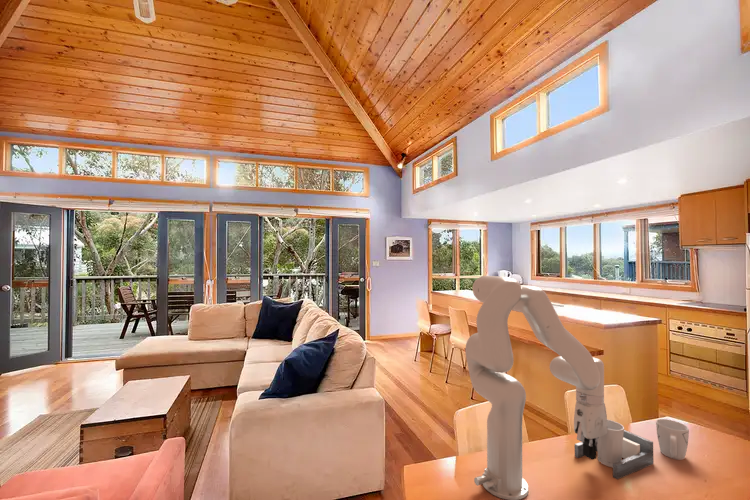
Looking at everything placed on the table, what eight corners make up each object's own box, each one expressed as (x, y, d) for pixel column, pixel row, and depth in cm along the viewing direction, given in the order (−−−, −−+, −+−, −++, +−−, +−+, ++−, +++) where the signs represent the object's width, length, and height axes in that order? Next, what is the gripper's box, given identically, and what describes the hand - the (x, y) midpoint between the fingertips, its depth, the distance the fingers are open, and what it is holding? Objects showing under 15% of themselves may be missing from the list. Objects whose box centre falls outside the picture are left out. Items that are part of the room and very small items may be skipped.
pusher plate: (637, 464, 111) (636, 445, 111) (605, 449, 120) (604, 431, 120) (640, 463, 111) (639, 444, 112) (607, 448, 121) (607, 430, 121)
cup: (617, 456, 116) (617, 420, 116) (629, 470, 108) (629, 431, 108) (590, 453, 117) (590, 417, 118) (600, 467, 110) (600, 428, 110)
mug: (691, 469, 109) (691, 437, 109) (657, 459, 114) (656, 429, 114) (687, 453, 118) (687, 423, 118) (655, 445, 123) (655, 416, 123)
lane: (617, 479, 104) (616, 455, 104) (574, 456, 116) (574, 434, 116) (653, 463, 112) (653, 441, 112) (610, 443, 124) (610, 423, 124)
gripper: (586, 405, 103) (586, 469, 102) (616, 398, 109) (616, 457, 109) (562, 396, 110) (562, 456, 109) (592, 390, 116) (592, 446, 115)
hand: (589, 456), depth 109 cm, fingers closed
